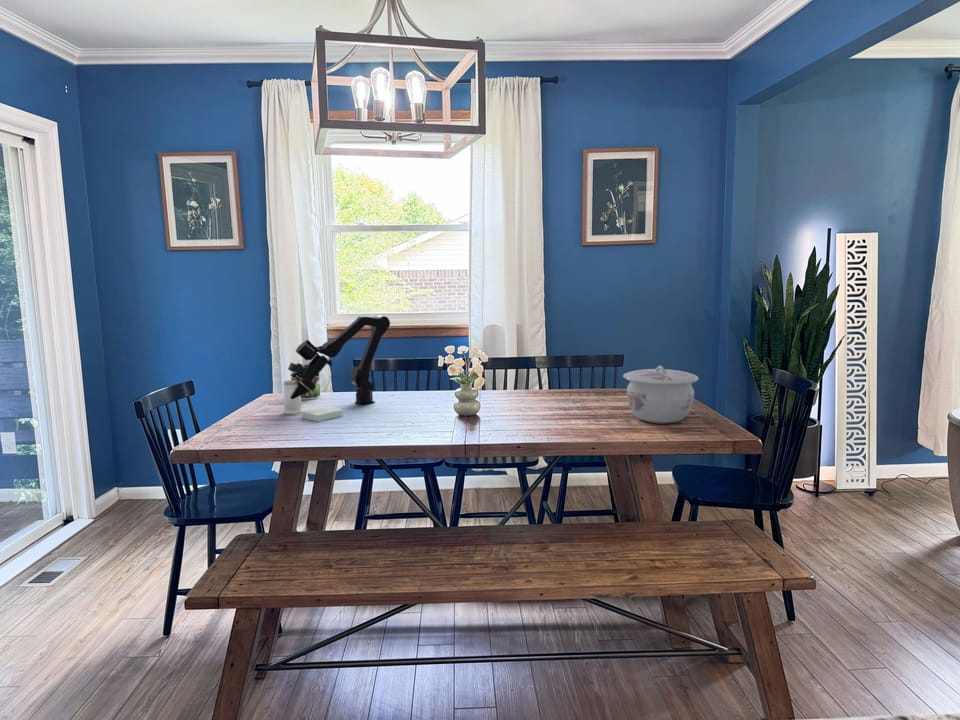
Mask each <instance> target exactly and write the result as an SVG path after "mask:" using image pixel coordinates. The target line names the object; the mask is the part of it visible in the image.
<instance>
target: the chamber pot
mask: <svg viewBox="0 0 960 720" xmlns="http://www.w3.org/2000/svg"><path fill="white" fill-rule="evenodd" d="M622 376H623V378H624V379H625V380H628V381H629V383H628V385H627V387H626V397H627V403H628V406H629V408H630V410H631V412H632V413H633V415H634V416H635V417H636V418H637V419H639V420H642V421H643V422H646V423H651V424H660V425H666V424H667V425H668V424H673V423H677V422H680V421H682V420H683V419H684V418H685V417H686V416H687V415H688V414H689V412H690V410H691V409H692V407H693V403H694V399H695V389H694V388H693V386H692V384H693V383H696V382H697V381H699V377H698V375H696V374H693V373H690V372H687V371H682V370H675V369H665V368H664V367H663V366H662V365H658V366H657V367H656V368H647V369H646V368H645V369H637V370H632V371H628V372H625V373H624V374H623V375H622Z"/></svg>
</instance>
